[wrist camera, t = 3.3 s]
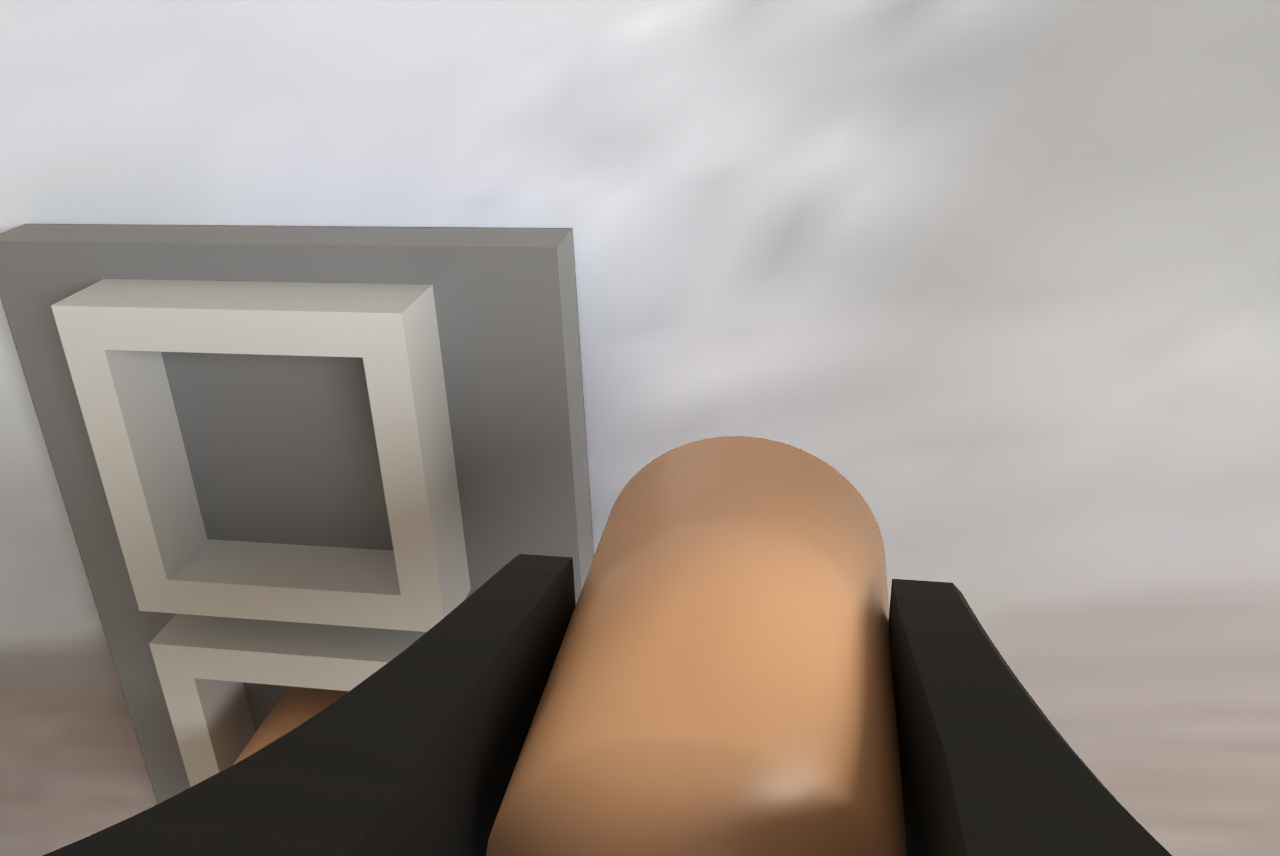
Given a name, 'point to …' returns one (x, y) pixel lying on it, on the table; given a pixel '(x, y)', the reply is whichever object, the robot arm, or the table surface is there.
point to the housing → (295, 447)
